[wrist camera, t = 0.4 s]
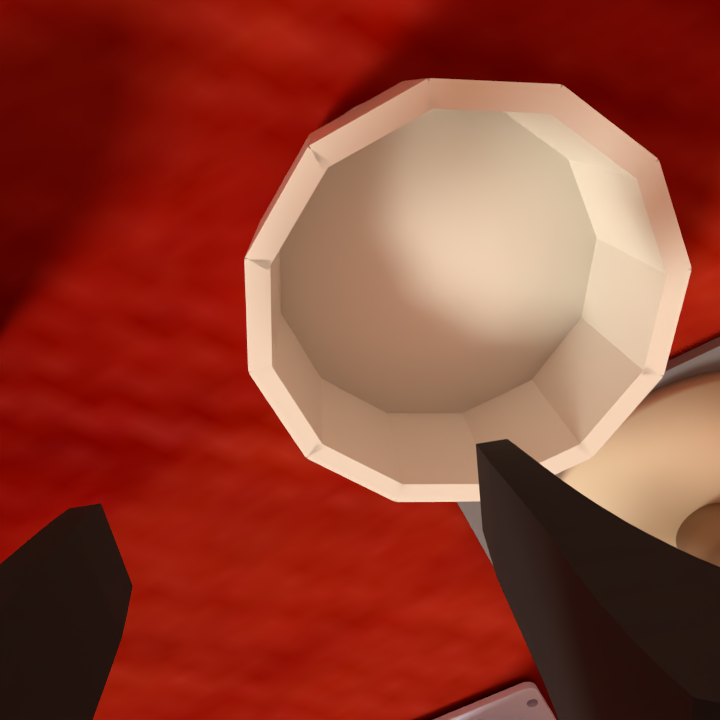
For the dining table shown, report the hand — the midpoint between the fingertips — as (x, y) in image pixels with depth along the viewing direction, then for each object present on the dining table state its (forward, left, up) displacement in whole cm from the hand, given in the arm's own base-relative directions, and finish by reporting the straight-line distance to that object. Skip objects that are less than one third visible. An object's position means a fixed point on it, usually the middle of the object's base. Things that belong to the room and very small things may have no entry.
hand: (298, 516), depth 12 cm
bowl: (0, -5, -10) cm, 11 cm away
